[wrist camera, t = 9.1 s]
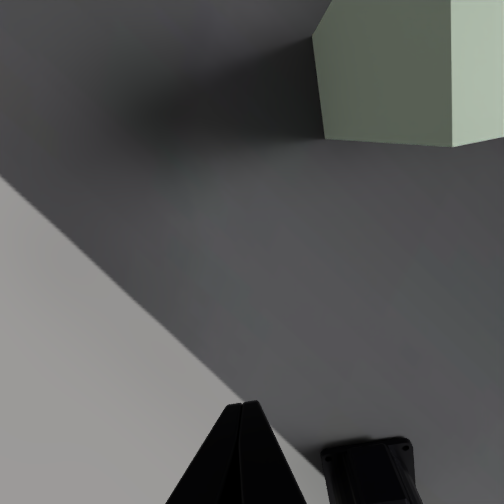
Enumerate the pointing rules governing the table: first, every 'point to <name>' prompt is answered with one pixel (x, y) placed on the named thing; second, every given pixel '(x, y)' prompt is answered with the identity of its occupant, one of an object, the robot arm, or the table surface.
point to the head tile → (411, 71)
